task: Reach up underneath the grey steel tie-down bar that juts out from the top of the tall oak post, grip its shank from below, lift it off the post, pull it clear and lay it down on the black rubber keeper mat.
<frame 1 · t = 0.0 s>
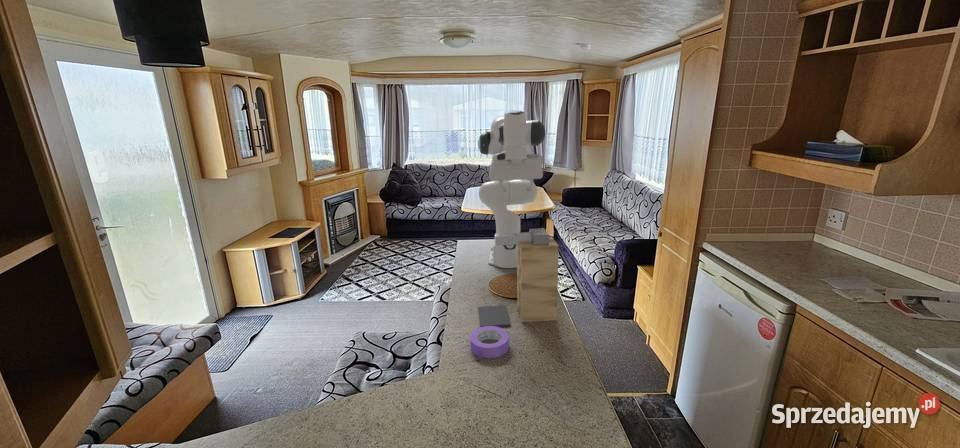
hand: (516, 191, 149), 39 cm above the table, tool pointing down, fingers open, 8 cm apart
keeper mat: (493, 317, 136), on the table
masking tape: (489, 347, 119), on the table
tie-down bar: (520, 242, 128), point 27 cm above the table, touching oak post
oak post: (536, 314, 137), on the table
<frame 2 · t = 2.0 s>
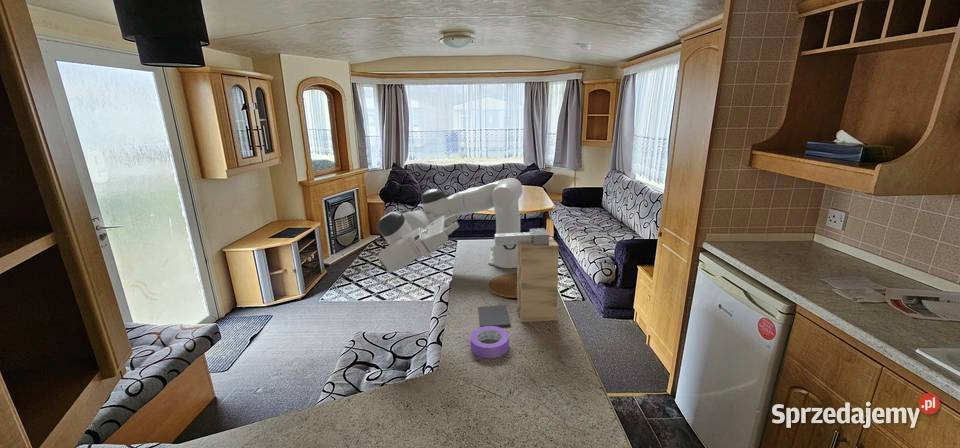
hand: (458, 219, 128), 35 cm above the table, tool pointing upward, fingers open, 8 cm apart
nothing on the table moved.
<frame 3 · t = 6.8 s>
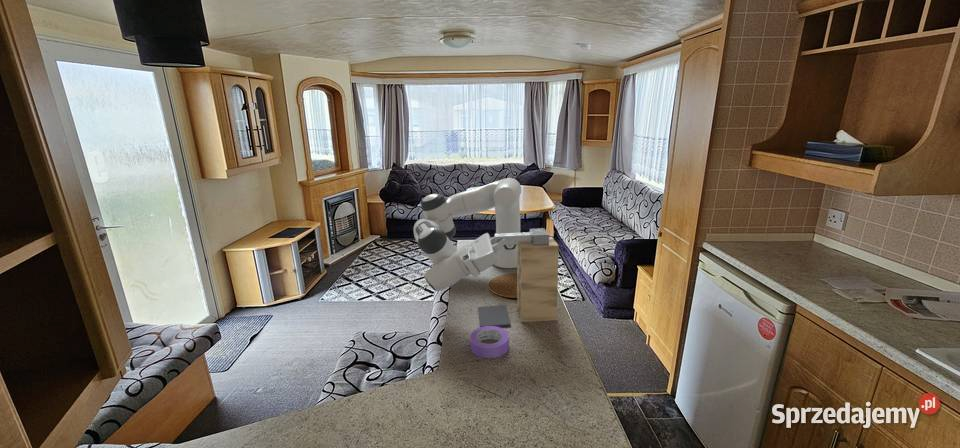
hand: (505, 237, 128), 29 cm above the table, tool pointing upward, fingers closed on tie-down bar, 3 cm apart
tie-down bar: (520, 242, 128), point 27 cm above the table, touching gripper, oak post
everything else where it was.
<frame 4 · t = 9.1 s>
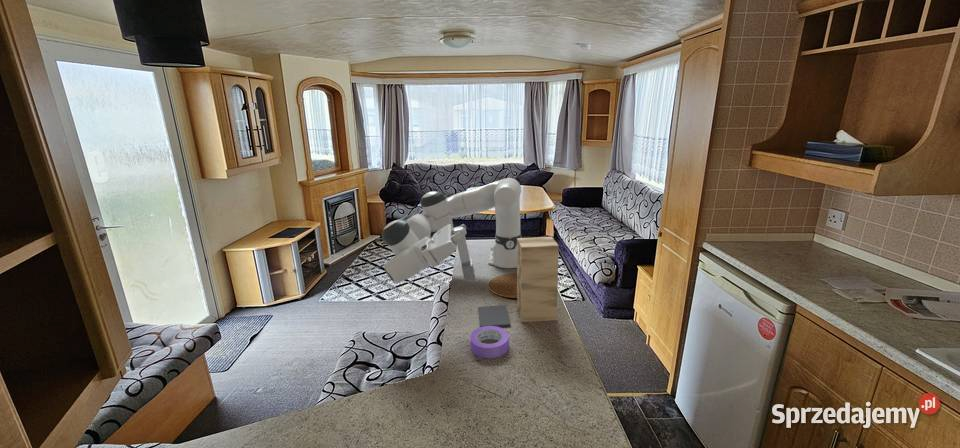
hand: (465, 228, 126), 33 cm above the table, tool pointing upward, fingers closed on tie-down bar, 3 cm apart
tie-down bar: (459, 253, 128), point 24 cm above the table, tilted 81°, touching gripper
everything else where it was.
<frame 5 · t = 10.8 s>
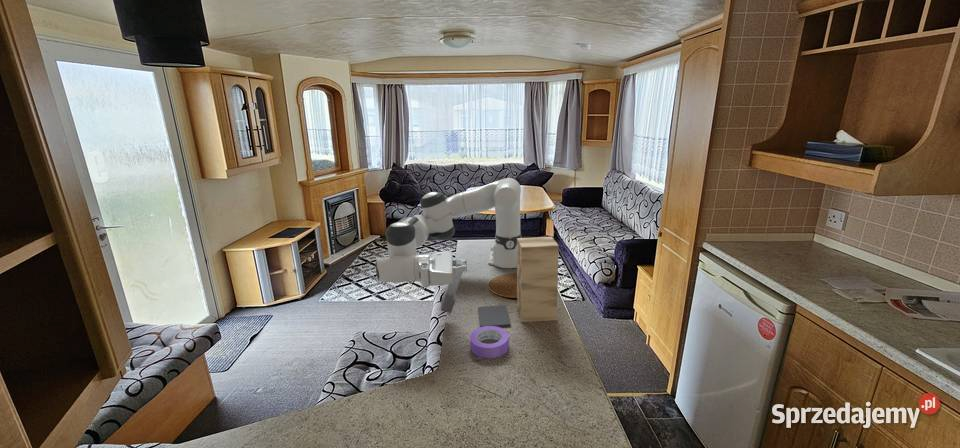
hand: (466, 265, 129), 20 cm above the table, tool horizontal, fingers closed on tie-down bar, 3 cm apart
tie-down bar: (448, 283, 131), point 14 cm above the table, tilted 110°, touching gripper
everything else where it was.
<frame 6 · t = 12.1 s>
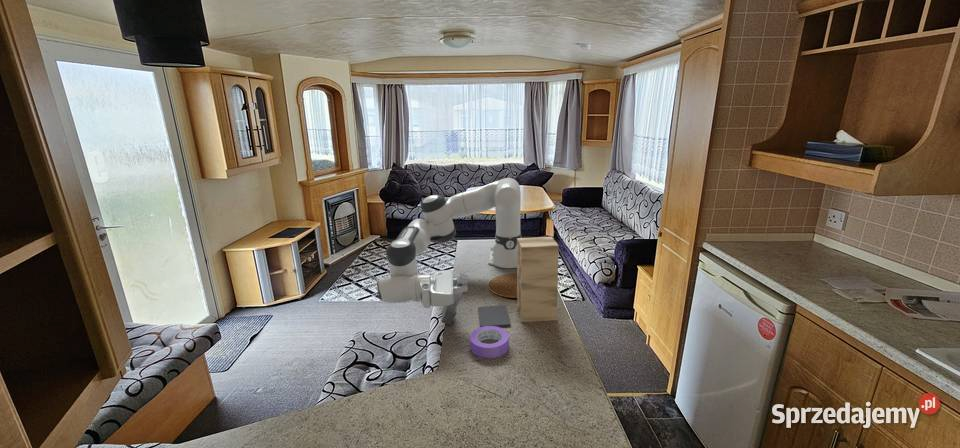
hand: (467, 285, 131), 13 cm above the table, tool horizontal, fingers closed on tie-down bar, 3 cm apart
tie-down bar: (450, 295, 132), point 9 cm above the table, tilted 114°, touching gripper
everything else where it was.
when the fingers open (10 cm above the table, at t = 13.0 s): tie-down bar drops 5 cm and tips over, resting on keeper mat.
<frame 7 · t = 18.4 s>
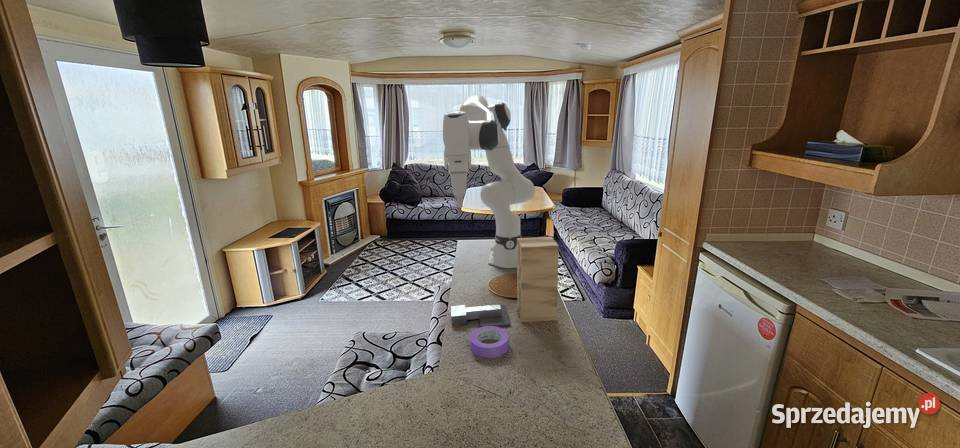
hand: (459, 203, 131), 39 cm above the table, tool pointing down, fingers open, 8 cm apart
tie-down bar: (475, 308, 134), point 4 cm above the table, tilted 178°, touching keeper mat
everything else where it was.
at the end: tie-down bar inside the target area (2.1 cm from its centre), point 3.8 cm above the table; the gripper is holding nothing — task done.
